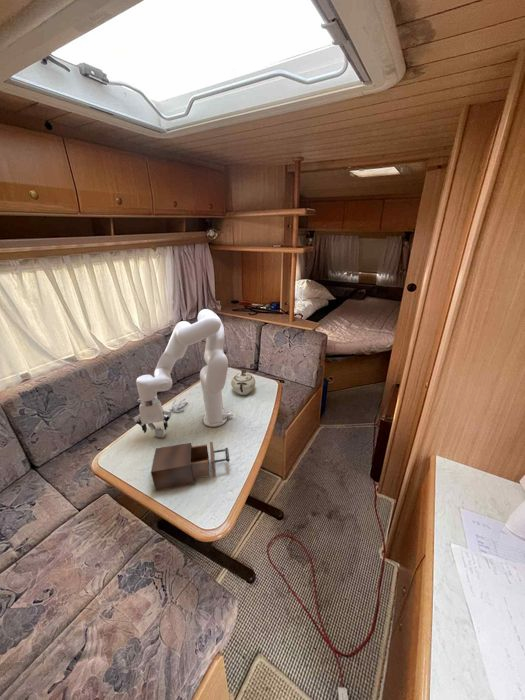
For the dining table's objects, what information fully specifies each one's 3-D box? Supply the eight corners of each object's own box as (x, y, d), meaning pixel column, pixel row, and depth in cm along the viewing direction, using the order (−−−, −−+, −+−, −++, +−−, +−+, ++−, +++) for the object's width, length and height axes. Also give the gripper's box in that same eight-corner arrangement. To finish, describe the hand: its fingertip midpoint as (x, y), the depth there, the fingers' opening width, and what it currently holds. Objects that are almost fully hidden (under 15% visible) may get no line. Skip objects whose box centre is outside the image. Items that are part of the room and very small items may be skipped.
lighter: (165, 435, 136) (162, 422, 133) (163, 437, 135) (160, 424, 132) (152, 433, 138) (149, 421, 134) (150, 436, 136) (147, 423, 133)
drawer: (228, 453, 123) (226, 439, 119) (231, 473, 112) (229, 458, 109) (183, 461, 119) (180, 446, 116) (181, 483, 109) (178, 467, 106)
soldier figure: (190, 406, 160) (178, 412, 149) (185, 411, 161) (173, 417, 150) (183, 395, 161) (170, 401, 150) (178, 400, 162) (165, 406, 151)
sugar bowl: (234, 383, 181) (233, 363, 175) (257, 383, 180) (256, 363, 174) (229, 400, 163) (227, 378, 157) (254, 400, 162) (253, 378, 156)
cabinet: (194, 460, 121) (191, 442, 117) (193, 483, 110) (190, 464, 106) (159, 466, 118) (155, 448, 114) (155, 490, 107) (150, 472, 103)
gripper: (127, 407, 123) (135, 437, 130) (167, 402, 126) (173, 431, 133) (131, 398, 130) (138, 427, 136) (169, 393, 133) (174, 422, 139)
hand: (155, 429), depth 135 cm, fingers open, 9 cm apart
